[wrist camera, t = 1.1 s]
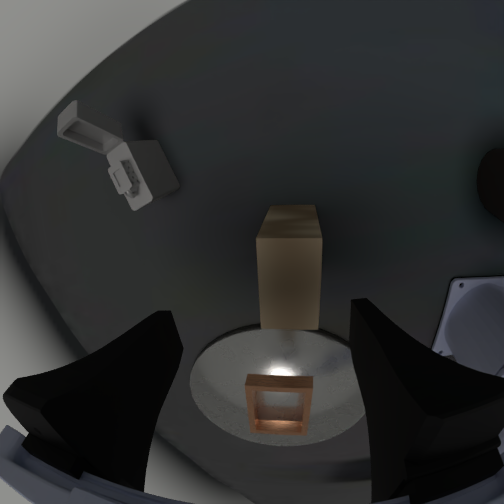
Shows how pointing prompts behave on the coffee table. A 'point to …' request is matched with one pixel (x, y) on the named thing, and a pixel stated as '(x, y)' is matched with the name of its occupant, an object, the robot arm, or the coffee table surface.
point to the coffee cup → (492, 182)
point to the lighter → (120, 154)
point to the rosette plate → (278, 385)
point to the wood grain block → (289, 267)
